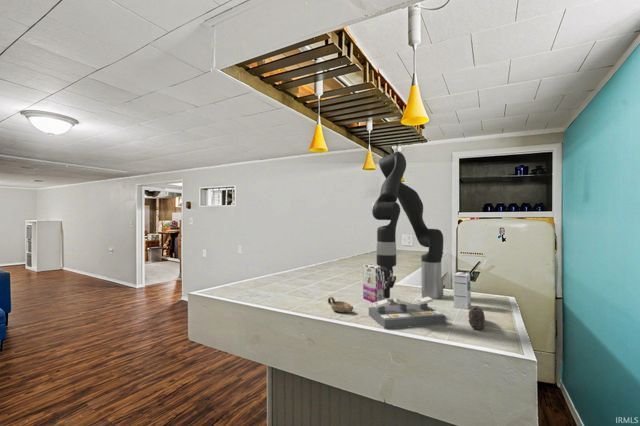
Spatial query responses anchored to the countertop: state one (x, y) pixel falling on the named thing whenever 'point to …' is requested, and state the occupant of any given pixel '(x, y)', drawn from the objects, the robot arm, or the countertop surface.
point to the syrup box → (462, 290)
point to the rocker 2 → (423, 300)
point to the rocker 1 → (381, 303)
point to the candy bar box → (372, 283)
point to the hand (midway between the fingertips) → (386, 297)
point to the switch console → (406, 315)
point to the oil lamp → (340, 305)
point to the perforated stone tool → (476, 317)
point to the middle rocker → (402, 302)
